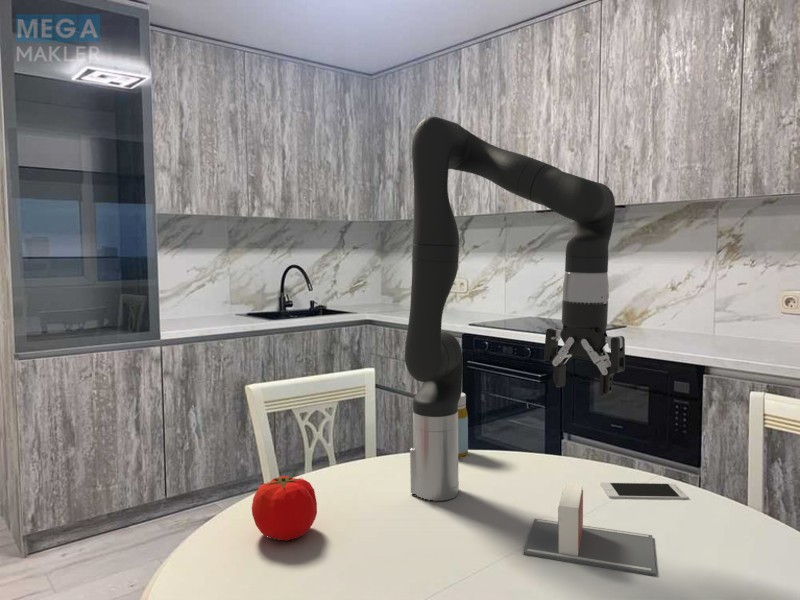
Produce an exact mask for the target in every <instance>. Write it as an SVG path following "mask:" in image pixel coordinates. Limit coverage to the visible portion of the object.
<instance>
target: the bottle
mask: <svg viewBox="0 0 800 600" xmlns="http://www.w3.org/2000/svg"><path fill="white" fill-rule="evenodd" d="M466 400H467V395H466V393H464V392H461V397H460V400H459V402H458V459H460V458H459V457H461V458H464V457H466V455H468V453H469V439H468V438H469V428H468V427H469V425H468V424H469V418H468V417H469V415H468V411H467V410H468V409H467V408H466V407H467V405H466V403H467V401H466Z"/></svg>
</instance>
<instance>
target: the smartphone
mask: <svg viewBox="0 0 800 600" xmlns="http://www.w3.org/2000/svg"><path fill="white" fill-rule="evenodd" d="M600 487H601V488H602V490H603V491H604V493H605V494H606V496H607V498H608V499H614V500H615V499H619V500H620V499H625V500H626V499H629V500H630V499H631V500H689V496H688V495H687V494H686V493H685V492H684V491H683V490H682V489H681V488H680V487H679V486H678V485H677V484H676V483H669V482H668V483H665V482H664V483H660V482H659V483H658V482H657V483H655V482H653V483H652V482H600Z"/></svg>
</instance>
